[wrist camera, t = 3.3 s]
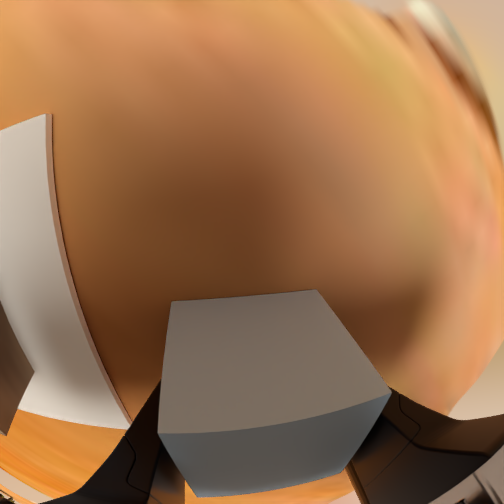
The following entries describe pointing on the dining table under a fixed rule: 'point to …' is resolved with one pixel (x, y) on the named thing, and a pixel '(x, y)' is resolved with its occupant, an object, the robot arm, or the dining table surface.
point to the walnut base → (11, 373)
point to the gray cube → (263, 392)
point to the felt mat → (46, 288)
